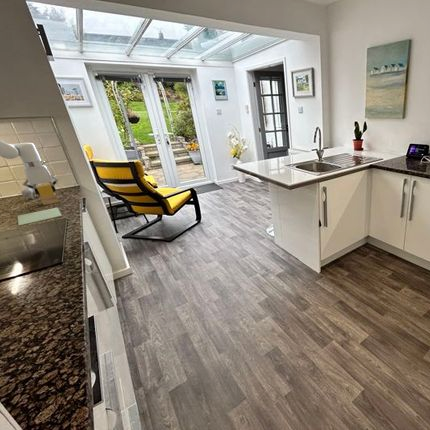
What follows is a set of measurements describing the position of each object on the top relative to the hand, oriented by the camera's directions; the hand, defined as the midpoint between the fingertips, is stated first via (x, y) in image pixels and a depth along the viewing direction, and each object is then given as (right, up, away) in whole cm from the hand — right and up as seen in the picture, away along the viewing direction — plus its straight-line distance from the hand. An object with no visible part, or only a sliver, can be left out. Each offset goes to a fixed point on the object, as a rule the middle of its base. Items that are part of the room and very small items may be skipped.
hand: (46, 193), depth 161 cm
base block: (0, -6, +2) cm, 6 cm away
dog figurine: (-22, -2, +14) cm, 26 cm away
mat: (+17, -14, -20) cm, 30 cm away
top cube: (0, -1, 0) cm, 1 cm away
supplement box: (-9, -2, +12) cm, 15 cm away
